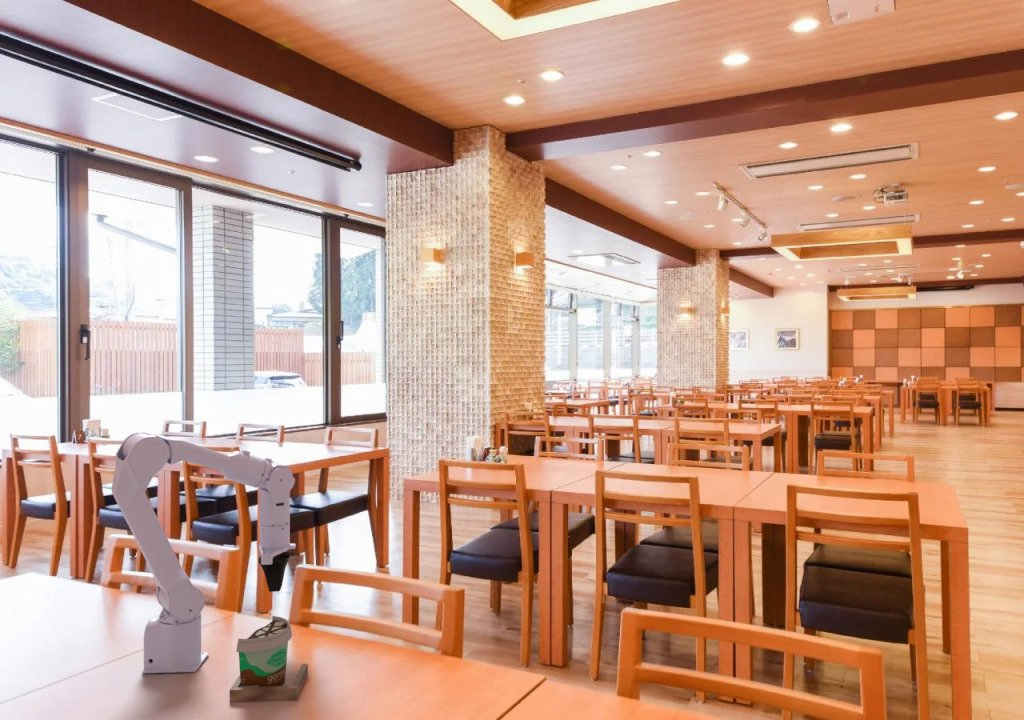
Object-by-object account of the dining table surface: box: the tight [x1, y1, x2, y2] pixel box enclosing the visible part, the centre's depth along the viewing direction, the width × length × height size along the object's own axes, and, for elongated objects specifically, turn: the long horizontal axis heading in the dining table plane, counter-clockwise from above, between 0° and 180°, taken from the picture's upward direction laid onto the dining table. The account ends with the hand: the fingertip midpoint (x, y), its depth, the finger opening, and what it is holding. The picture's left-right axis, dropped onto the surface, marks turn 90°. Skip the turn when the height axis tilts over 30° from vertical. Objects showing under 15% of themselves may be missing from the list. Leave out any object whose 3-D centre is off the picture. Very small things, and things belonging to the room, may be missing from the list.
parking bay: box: [229, 663, 309, 703], centre depth 132 cm, size 11×10×2 cm
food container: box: [235, 615, 293, 687], centre depth 134 cm, size 12×6×10 cm, turn 168°
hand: (274, 590), depth 153 cm, fingers closed
